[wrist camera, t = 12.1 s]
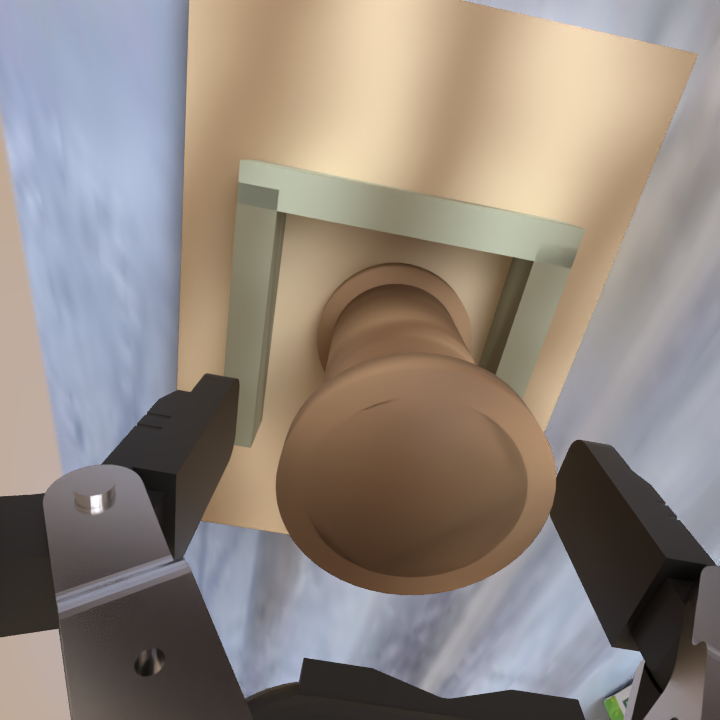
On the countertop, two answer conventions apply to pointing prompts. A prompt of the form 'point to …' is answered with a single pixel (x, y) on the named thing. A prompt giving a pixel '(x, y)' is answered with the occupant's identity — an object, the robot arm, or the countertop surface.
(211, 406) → the robot arm
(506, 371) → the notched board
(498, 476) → the wooden bobbin
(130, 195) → the countertop surface
